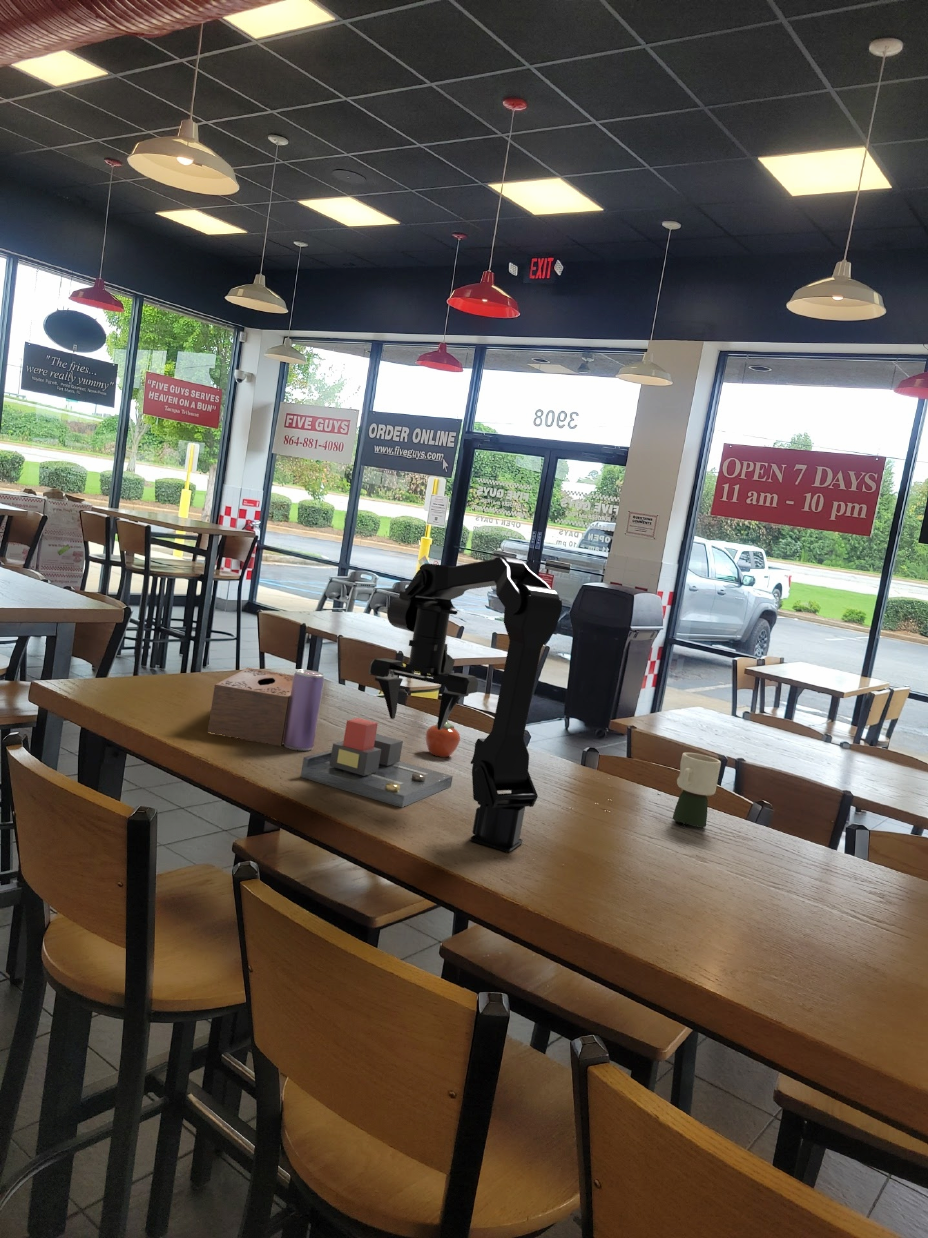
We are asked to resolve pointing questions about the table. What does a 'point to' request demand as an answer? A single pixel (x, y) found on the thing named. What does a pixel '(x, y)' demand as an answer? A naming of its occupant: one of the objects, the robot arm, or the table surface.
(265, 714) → the tissue box cover
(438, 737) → the tomato
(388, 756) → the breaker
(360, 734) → the cap
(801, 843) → the table surface
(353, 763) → the block
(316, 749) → the table surface
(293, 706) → the beverage can
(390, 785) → the breaker panel
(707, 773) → the character mug
